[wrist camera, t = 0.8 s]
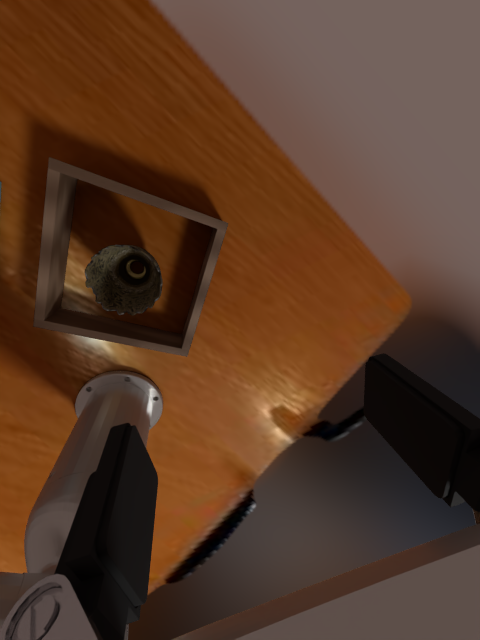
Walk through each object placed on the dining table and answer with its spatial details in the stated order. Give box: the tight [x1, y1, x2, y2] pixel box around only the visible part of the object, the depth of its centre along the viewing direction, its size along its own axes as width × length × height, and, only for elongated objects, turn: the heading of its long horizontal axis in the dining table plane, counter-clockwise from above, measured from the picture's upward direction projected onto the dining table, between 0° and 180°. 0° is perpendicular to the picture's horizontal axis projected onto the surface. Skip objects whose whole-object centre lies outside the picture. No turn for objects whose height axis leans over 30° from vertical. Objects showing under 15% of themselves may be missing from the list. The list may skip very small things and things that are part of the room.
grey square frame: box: [33, 157, 228, 356], centre depth 32 cm, size 18×18×4 cm
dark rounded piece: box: [85, 245, 162, 315], centre depth 30 cm, size 8×7×8 cm
